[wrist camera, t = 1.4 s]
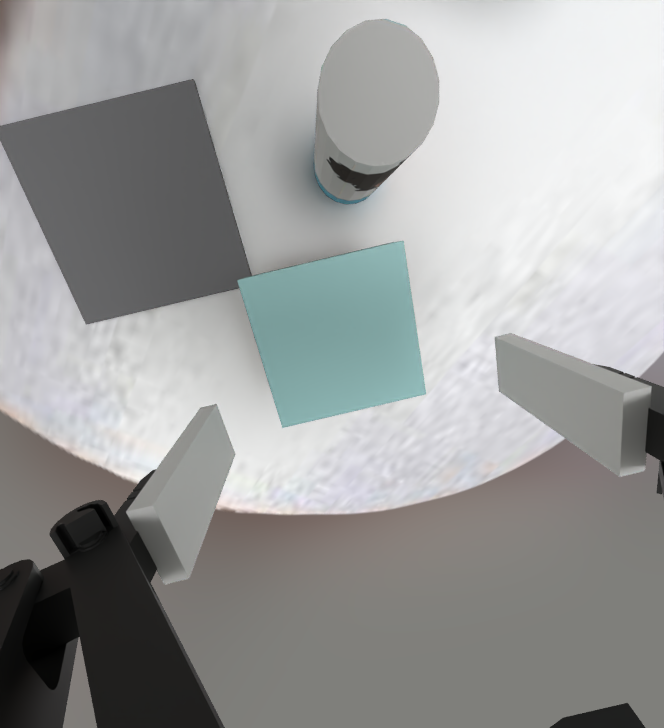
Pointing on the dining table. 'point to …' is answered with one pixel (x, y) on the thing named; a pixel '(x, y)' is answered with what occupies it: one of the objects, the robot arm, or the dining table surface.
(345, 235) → the dining table surface
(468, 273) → the dining table surface
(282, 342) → the lid
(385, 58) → the printed grey cylinder
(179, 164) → the mat
